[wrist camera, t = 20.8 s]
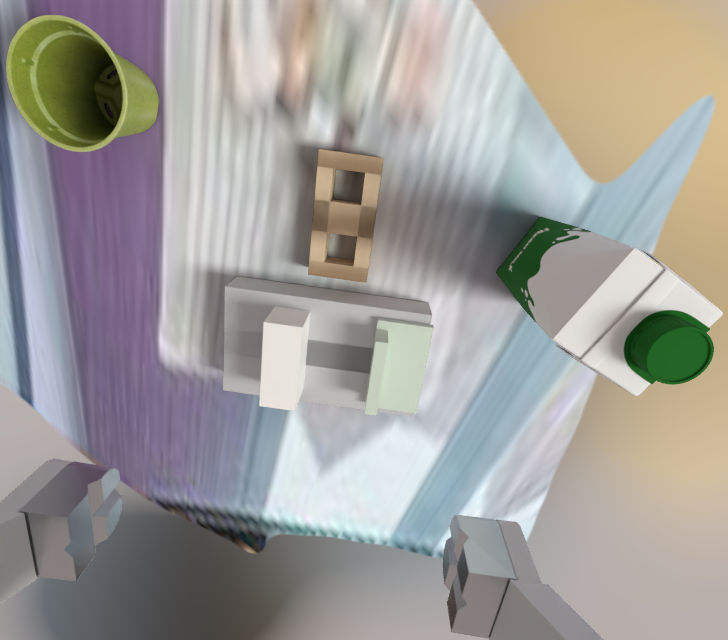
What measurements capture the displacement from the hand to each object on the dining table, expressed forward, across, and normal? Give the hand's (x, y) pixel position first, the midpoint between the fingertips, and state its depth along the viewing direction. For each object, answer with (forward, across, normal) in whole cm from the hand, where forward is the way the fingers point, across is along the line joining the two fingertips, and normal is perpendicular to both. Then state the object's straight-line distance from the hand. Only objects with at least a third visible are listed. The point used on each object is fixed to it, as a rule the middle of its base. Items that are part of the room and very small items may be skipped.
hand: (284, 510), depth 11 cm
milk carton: (+37, -19, 0) cm, 42 cm away
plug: (+35, +6, +12) cm, 38 cm away
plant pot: (+37, +24, -10) cm, 46 cm away
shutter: (+33, -5, +12) cm, 36 cm away
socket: (+37, +3, +12) cm, 39 cm away
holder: (+37, +2, -2) cm, 37 cm away
